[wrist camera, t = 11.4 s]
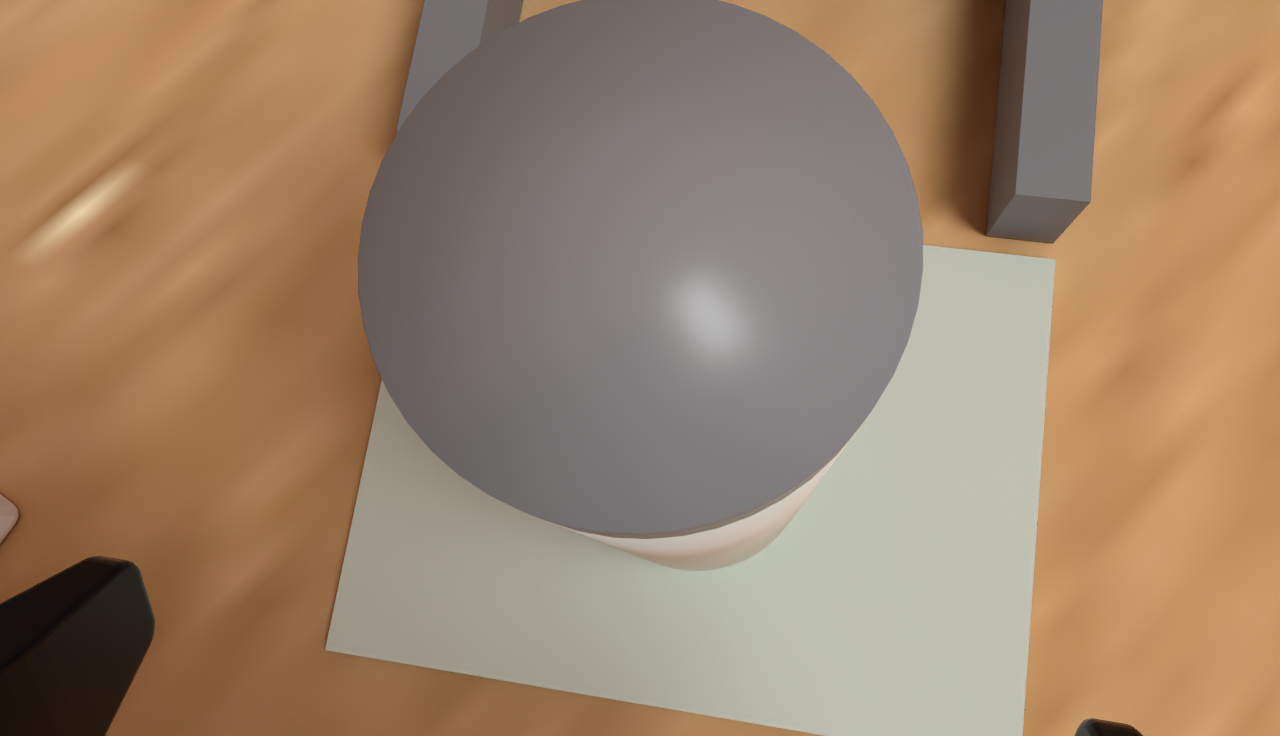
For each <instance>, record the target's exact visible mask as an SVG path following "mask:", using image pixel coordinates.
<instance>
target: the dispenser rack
mask: <svg viewBox="0 0 1280 736" xmlns="http://www.w3.org/2000/svg"><path fill="white" fill-rule="evenodd" d="M522 4H523V0H425V1H424V6H423V10H422V15H421V20H420V24H419V29H418V33H417V38H416V42H415V47H414V52H413V56H412V61H411V65H410V70H409V75H408V79H407V84H406V88H405V93H404V97H403V102H402V107H401V111H400V116H399V120H398V125H397V130H396V131H397V132H398V130H399V129H400V127H401V126H402V125H403V123H404V122H405V120H406V119H407V118H408V116H409V115H410V113H411V112H412V111H413V109H414V108H415V106H416V105H417V104H418V102H419V101H420V100H421V99H422V98H423V97H424V95H425V94H426V93H427V92H428V91H429V90H430V89H431V88H432V87H433V86H434V85H435V84H436V82H437V81H438V80H439V79H440V78H441V77H442V76H443V75H444V74H445V73H446V72H448V71H449V70H450V69H451V68H452V67H453V66H455V65H456V64H457V63H458V62H459V61H460V60H462V59H463V58H464V57H465V56H466V55H467V54H469V53H470V52H471V51H473V50H474V49H476V48H477V47H479V46H480V45H482V44H483V43H485V42H486V41H488V40H489V39H491V38H492V37H494V36H495V35H497V34H498V33H500V32H502V31H504V30H506V29H508V28H510V27H512V26H514V25H516V24H518V23H519V19H520V14H521V9H522ZM1102 7H1103V0H1006V7H1005V19H1004V31H1003V43H1002V55H1001V67H1000V78H999V90H998V102H997V114H996V126H995V138H994V150H993V161H992V173H991V185H990V197H989V209H988V221H987V232H986V236H990V237H999V238H1008V239H1018V240H1027V241H1036V242H1046V243H1054V242H1055V241H1056V239H1057V238H1058V237H1059V236H1060V235H1061V234H1062V233H1063V232H1064V231H1065V229H1066V228H1067V227H1068V226H1069V225H1070V224H1071V223H1072V222H1073V221H1074V220H1075V218H1076V217H1077V216H1078V215H1079V214H1080V213H1081V212H1082V211H1083V210H1084V208H1085V207H1086V206H1087V205H1088V204H1089V203H1090V200H1091V184H1092V168H1093V152H1094V136H1095V120H1096V104H1097V88H1098V72H1099V55H1100V39H1101V23H1102Z"/></svg>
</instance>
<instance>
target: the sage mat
mask: <svg viewBox="0 0 1280 736" xmlns="http://www.w3.org/2000/svg"><path fill="white" fill-rule="evenodd" d="M1054 271H1055V259H1047V258H1038V257H1029V256H1019V255H1010V254H1001V253H992V252H983V251H974V250H965V249H956V248H946V247H937V246H928V245H923V274H922V281H921V289H920V297H919V304H918V308H917V312H916V316H915V319H914V323H913V326H912V330H911V334H910V337H909V341H908V343H907V346H906V348H905V350H904V352H903V355H902V357H901V359H900V362H899V364H898V366H897V369H896V371H895V373H894V376H893V377H892V379H891V380H890V382H889V384H888V385H887V387H886V389H885V390H884V392H883V394H882V395H881V397H880V399H879V400H878V402H877V403H876V405H875V407H874V408H873V410H872V411H871V412H870V414H869V415H868V417H867V418H866V419H865V421H864V422H863V423H862V425H861V426H860V427H859V429H858V430H857V432H856V433H855V434H854V436H853V437H852V438H851V440H850V441H849V442H848V444H847V445H846V446H845V448H844V449H843V451H842V452H841V453H840V455H839V456H838V457H837V459H836V460H835V461H834V463H833V464H832V466H831V467H830V468H829V470H828V471H827V472H826V474H825V475H824V476H823V478H822V479H821V481H820V482H819V483H818V485H817V486H816V487H815V489H814V490H813V491H812V493H811V494H810V495H809V497H808V498H807V500H806V501H805V502H804V504H803V505H802V506H801V508H800V509H799V510H798V512H797V513H796V515H795V516H794V517H793V519H792V520H791V521H790V523H789V524H788V525H787V527H786V528H785V529H784V530H783V531H782V533H781V534H780V535H779V536H778V537H777V538H776V539H775V540H774V541H773V542H772V543H771V544H770V545H769V546H767V547H766V548H764V549H763V550H762V551H760V552H759V553H757V554H756V555H754V556H752V557H750V558H749V559H747V560H745V561H743V562H740V563H737V564H735V565H732V566H729V567H725V568H721V569H716V570H707V571H685V570H679V569H674V568H669V567H666V566H663V565H660V564H657V563H654V562H651V561H649V560H646V559H643V558H641V557H638V556H636V555H633V554H631V553H628V552H625V551H623V550H620V549H618V548H615V547H612V546H610V545H607V544H605V543H602V542H600V541H597V540H594V539H592V538H589V537H587V536H584V535H581V534H579V533H576V532H574V531H571V530H569V529H566V528H563V527H561V526H558V525H556V524H553V523H550V522H548V521H545V520H543V519H540V518H538V517H535V516H532V515H530V514H527V513H525V512H522V511H520V510H518V509H516V508H514V507H512V506H510V505H508V504H506V503H504V502H502V501H500V500H497V499H495V498H493V497H491V496H489V495H488V494H486V493H485V492H483V491H482V490H480V489H479V488H477V487H476V486H474V485H473V484H471V483H470V482H468V481H467V480H465V479H464V478H462V477H461V476H459V475H458V474H457V473H456V472H454V471H453V470H452V469H451V468H450V467H449V466H448V465H447V464H445V463H444V462H443V461H442V460H441V459H440V458H439V457H438V456H436V455H435V454H434V453H433V452H432V451H431V450H430V449H429V448H428V447H427V445H426V444H425V443H424V442H423V441H422V440H421V438H420V437H419V436H418V435H417V434H416V432H415V431H414V430H413V429H412V428H411V427H410V425H409V424H408V423H407V422H406V420H405V418H404V417H403V415H402V414H401V412H400V411H399V409H398V407H397V406H396V404H395V403H394V401H393V399H392V398H391V396H390V395H389V393H388V391H387V389H386V387H385V385H384V382H383V380H382V381H381V386H380V390H379V395H378V400H377V405H376V409H375V414H374V419H373V424H372V428H371V433H370V438H369V443H368V448H367V452H366V457H365V462H364V467H363V471H362V476H361V481H360V486H359V490H358V495H357V500H356V505H355V510H354V514H353V519H352V524H351V529H350V533H349V538H348V543H347V548H346V552H345V557H344V562H343V567H342V572H341V576H340V581H339V586H338V591H337V595H336V600H335V605H334V610H333V614H332V619H331V624H330V629H329V633H328V638H327V643H326V648H325V650H328V651H333V652H339V653H345V654H351V655H357V656H363V657H368V658H374V659H380V660H386V661H392V662H398V663H403V664H409V665H415V666H421V667H427V668H433V669H439V670H444V671H450V672H456V673H462V674H468V675H474V676H479V677H485V678H491V679H497V680H503V681H509V682H514V683H520V684H526V685H532V686H538V687H544V688H550V689H555V690H561V691H567V692H573V693H579V694H585V695H590V696H596V697H602V698H608V699H614V700H620V701H625V702H631V703H637V704H643V705H649V706H655V707H661V708H666V709H672V710H678V711H684V712H690V713H696V714H701V715H707V716H713V717H719V718H725V719H731V720H736V721H742V722H748V723H754V724H760V725H766V726H772V727H777V728H783V729H789V730H795V731H801V732H807V733H812V734H818V735H824V736H1022V735H1023V720H1024V706H1025V691H1026V677H1027V662H1028V648H1029V633H1030V619H1031V604H1032V590H1033V575H1034V561H1035V546H1036V532H1037V517H1038V503H1039V488H1040V474H1041V459H1042V445H1043V430H1044V416H1045V401H1046V387H1047V372H1048V358H1049V343H1050V329H1051V315H1052V300H1053V286H1054Z"/></svg>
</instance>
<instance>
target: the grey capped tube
mask: <svg viewBox="0 0 1280 736" xmlns="http://www.w3.org/2000/svg"><path fill="white" fill-rule="evenodd" d="M922 274H923V231H922V224H921V218H920V211H919V205H918V198H917V194H916V191H915V188H914V184H913V181H912V178H911V174H910V171H909V168H908V164H907V162H906V159H905V157H904V155H903V153H902V151H901V149H900V146H899V144H898V142H897V140H896V138H895V136H894V133H893V131H892V130H891V128H890V126H889V125H888V123H887V122H886V120H885V119H884V117H883V116H882V114H881V112H880V111H879V109H878V108H877V106H876V105H875V103H874V102H873V100H872V99H871V98H870V97H869V96H868V94H867V93H866V92H865V91H864V90H863V89H862V87H861V86H860V85H859V84H858V83H857V82H856V80H855V79H854V78H853V77H852V76H851V75H850V74H849V73H848V72H847V71H846V70H845V69H844V68H843V67H842V66H840V65H839V64H838V63H837V62H836V61H835V60H834V59H833V58H832V57H830V56H829V55H828V54H827V53H826V52H825V51H823V50H822V49H820V48H819V47H818V46H816V45H815V44H813V43H812V42H810V41H809V40H807V39H806V38H805V37H803V36H802V35H800V34H799V33H797V32H796V31H794V30H792V29H790V28H788V27H786V26H784V25H782V24H780V23H778V22H776V21H774V20H772V19H770V18H768V17H766V16H764V15H761V14H759V13H756V12H753V11H750V10H748V9H745V8H742V7H739V6H737V5H734V4H730V3H726V2H722V1H717V0H582V1H578V2H574V3H570V4H566V5H562V6H559V7H556V8H554V9H551V10H548V11H546V12H543V13H540V14H538V15H535V16H532V17H530V18H528V19H526V20H524V21H522V22H520V23H518V24H516V25H514V26H512V27H510V28H508V29H506V30H504V31H502V32H500V33H498V34H497V35H495V36H494V37H492V38H491V39H489V40H488V41H486V42H485V43H483V44H482V45H480V46H479V47H477V48H476V49H474V50H473V51H471V52H470V53H469V54H467V55H466V56H465V57H464V58H463V59H462V60H460V61H459V62H458V63H457V64H456V65H455V66H453V67H452V68H451V69H450V70H449V71H448V72H446V73H445V74H444V75H443V76H442V77H441V78H440V79H439V80H438V81H437V82H436V84H435V85H434V86H433V87H432V88H431V89H430V90H429V91H428V92H427V93H426V94H425V95H424V97H423V98H422V99H421V100H420V101H419V102H418V104H417V105H416V106H415V108H414V109H413V111H412V112H411V113H410V115H409V116H408V118H407V119H406V120H405V122H404V123H403V125H402V126H401V127H400V129H399V130H398V132H397V134H396V136H395V138H394V140H393V141H392V143H391V145H390V147H389V149H388V151H387V152H386V154H385V156H384V158H383V160H382V163H381V165H380V168H379V170H378V173H377V175H376V178H375V180H374V183H373V185H372V188H371V190H370V194H369V198H368V202H367V206H366V210H365V214H364V218H363V222H362V228H361V236H360V245H359V253H358V293H359V300H360V306H361V313H362V319H363V326H364V330H365V333H366V337H367V340H368V343H369V347H370V350H371V353H372V357H373V360H374V363H375V365H376V367H377V369H378V371H379V374H380V376H381V378H382V380H383V382H384V385H385V387H386V389H387V391H388V393H389V395H390V396H391V398H392V399H393V401H394V403H395V404H396V406H397V407H398V409H399V411H400V412H401V414H402V415H403V417H404V418H405V420H406V422H407V423H408V424H409V425H410V427H411V428H412V429H413V430H414V431H415V432H416V434H417V435H418V436H419V437H420V438H421V440H422V441H423V442H424V443H425V444H426V445H427V447H428V448H429V449H430V450H431V451H432V452H433V453H434V454H435V455H436V456H438V457H439V458H440V459H441V460H442V461H443V462H444V463H445V464H447V465H448V466H449V467H450V468H451V469H452V470H453V471H454V472H456V473H457V474H458V475H459V476H461V477H462V478H464V479H465V480H467V481H468V482H470V483H471V484H473V485H474V486H476V487H477V488H479V489H480V490H482V491H483V492H485V493H486V494H488V495H489V496H491V497H493V498H495V499H497V500H500V501H502V502H504V503H506V504H508V505H510V506H512V507H514V508H516V509H518V510H520V511H522V512H525V513H527V514H530V515H532V516H535V517H538V518H540V519H543V520H545V521H548V522H550V523H553V524H556V525H558V526H561V527H563V528H566V529H569V530H571V531H574V532H576V533H579V534H581V535H584V536H587V537H589V538H592V539H594V540H597V541H600V542H602V543H605V544H607V545H610V546H612V547H615V548H618V549H620V550H623V551H625V552H628V553H631V554H633V555H636V556H638V557H641V558H643V559H646V560H649V561H651V562H654V563H657V564H660V565H663V566H666V567H669V568H674V569H679V570H685V571H707V570H716V569H721V568H725V567H729V566H732V565H735V564H737V563H740V562H743V561H745V560H747V559H749V558H750V557H752V556H754V555H756V554H757V553H759V552H760V551H762V550H763V549H764V548H766V547H767V546H769V545H770V544H771V543H772V542H773V541H774V540H775V539H776V538H777V537H778V536H779V535H780V534H781V533H782V531H783V530H784V529H785V528H786V527H787V525H788V524H789V523H790V521H791V520H792V519H793V517H794V516H795V515H796V513H797V512H798V510H799V509H800V508H801V506H802V505H803V504H804V502H805V501H806V500H807V498H808V497H809V495H810V494H811V493H812V491H813V490H814V489H815V487H816V486H817V485H818V483H819V482H820V481H821V479H822V478H823V476H824V475H825V474H826V472H827V471H828V470H829V468H830V467H831V466H832V464H833V463H834V461H835V460H836V459H837V457H838V456H839V455H840V453H841V452H842V451H843V449H844V448H845V446H846V445H847V444H848V442H849V441H850V440H851V438H852V437H853V436H854V434H855V433H856V432H857V430H858V429H859V427H860V426H861V425H862V423H863V422H864V421H865V419H866V418H867V417H868V415H869V414H870V412H871V411H872V410H873V408H874V407H875V405H876V403H877V402H878V400H879V399H880V397H881V395H882V394H883V392H884V390H885V389H886V387H887V385H888V384H889V382H890V380H891V379H892V377H893V376H894V373H895V371H896V369H897V366H898V364H899V362H900V359H901V357H902V355H903V352H904V350H905V348H906V346H907V343H908V341H909V337H910V334H911V330H912V326H913V323H914V319H915V316H916V312H917V308H918V304H919V297H920V289H921V281H922Z"/></svg>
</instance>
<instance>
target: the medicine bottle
mask: <svg viewBox="0 0 1280 736" xmlns="http://www.w3.org/2000/svg"><path fill="white" fill-rule="evenodd" d="M17 519H18V509H17V508H16V506H15V505H14V504H13V503H12V502H10V501H9V500H8V499H6V498H5V497H4V496H2V495H1V494H0V544H1V542H2V541H3V540H4V538H5V537H6V536H7V534H8V533H9V532H10V530H11V529H12V528H13V526H14V525H15V524H16V521H17Z"/></svg>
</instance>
